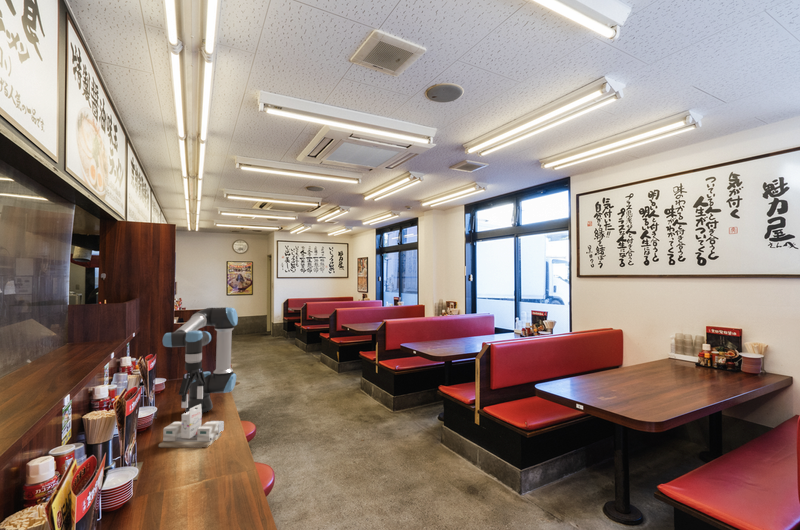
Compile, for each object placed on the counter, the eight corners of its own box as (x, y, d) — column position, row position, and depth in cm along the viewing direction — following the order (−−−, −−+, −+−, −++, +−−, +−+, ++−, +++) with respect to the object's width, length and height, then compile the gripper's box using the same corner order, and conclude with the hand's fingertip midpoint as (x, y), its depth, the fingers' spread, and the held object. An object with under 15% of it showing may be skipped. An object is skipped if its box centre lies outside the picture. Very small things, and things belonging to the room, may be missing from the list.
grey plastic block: (211, 430, 201) (211, 420, 201) (223, 430, 200) (223, 421, 201) (206, 433, 196) (206, 424, 196) (218, 434, 195) (219, 424, 196)
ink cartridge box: (193, 431, 191) (194, 402, 192) (201, 432, 190) (202, 403, 191) (180, 438, 183) (181, 408, 183) (189, 438, 182) (190, 408, 182)
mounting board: (176, 435, 193) (176, 419, 194) (221, 435, 193) (221, 420, 194) (158, 447, 179) (159, 430, 180) (207, 447, 179) (207, 430, 180)
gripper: (199, 356, 201) (198, 395, 200) (171, 367, 176) (169, 411, 175) (213, 356, 201) (212, 395, 200) (186, 367, 176) (185, 412, 175)
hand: (192, 403), depth 187 cm, fingers open, 13 cm apart
